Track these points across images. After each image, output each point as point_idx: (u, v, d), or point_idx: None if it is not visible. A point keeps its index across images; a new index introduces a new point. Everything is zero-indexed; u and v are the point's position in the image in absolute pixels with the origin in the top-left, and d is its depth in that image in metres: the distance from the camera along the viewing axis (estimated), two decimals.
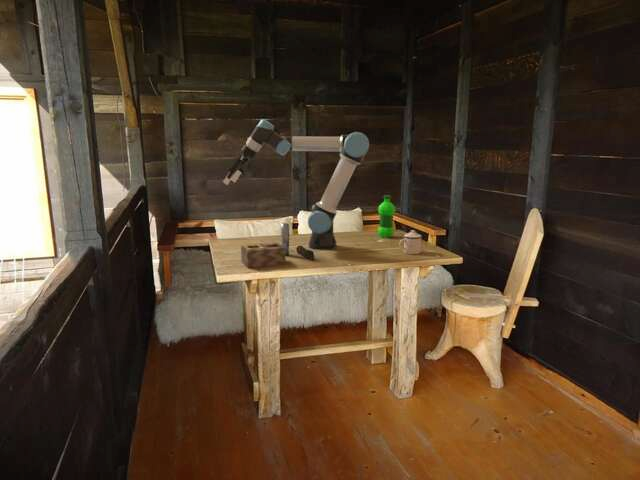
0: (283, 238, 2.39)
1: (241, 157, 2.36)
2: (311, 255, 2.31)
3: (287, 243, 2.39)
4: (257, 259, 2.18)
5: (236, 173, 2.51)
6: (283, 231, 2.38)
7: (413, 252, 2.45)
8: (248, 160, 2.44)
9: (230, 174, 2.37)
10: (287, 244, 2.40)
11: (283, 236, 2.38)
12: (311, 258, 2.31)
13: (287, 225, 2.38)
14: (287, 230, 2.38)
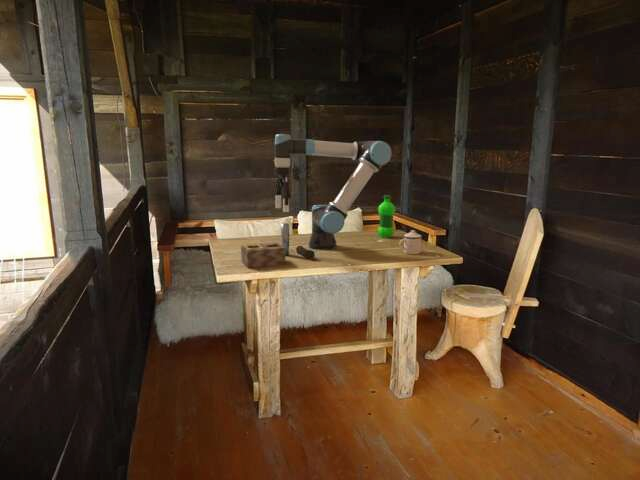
0: (283, 238, 2.39)
1: (285, 179, 2.28)
2: (312, 255, 2.31)
3: (287, 243, 2.39)
4: (257, 259, 2.18)
5: (277, 199, 2.43)
6: (283, 231, 2.38)
7: (413, 252, 2.45)
8: None
9: (287, 200, 2.29)
10: (287, 244, 2.40)
11: (283, 236, 2.38)
12: (312, 258, 2.31)
13: (287, 225, 2.38)
14: (287, 230, 2.38)
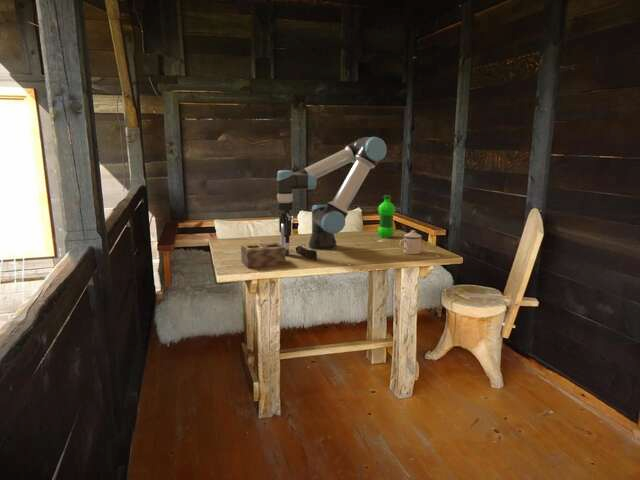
0: (283, 238, 2.39)
1: (288, 218, 2.32)
2: (314, 255, 2.31)
3: None
4: (257, 259, 2.18)
5: None
6: (283, 231, 2.38)
7: (413, 252, 2.45)
8: None
9: (287, 238, 2.37)
10: None
11: None
12: (314, 258, 2.32)
13: None
14: None
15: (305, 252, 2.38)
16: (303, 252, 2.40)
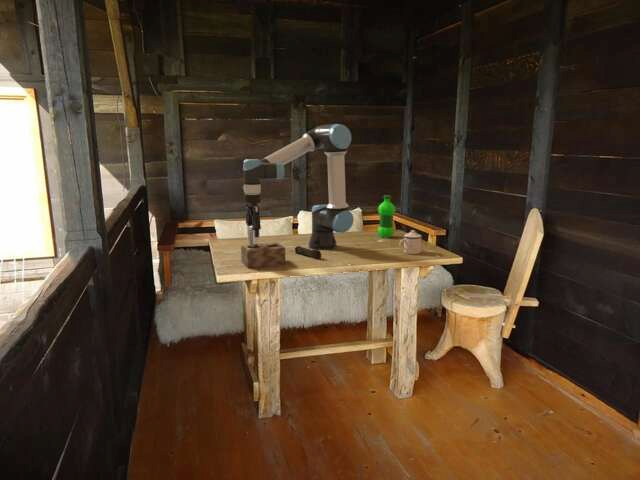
0: (251, 242, 2.20)
1: (255, 209, 2.12)
2: (319, 254, 2.33)
3: (255, 247, 2.21)
4: (257, 259, 2.18)
5: None
6: (251, 234, 2.19)
7: (413, 252, 2.45)
8: None
9: (257, 232, 2.14)
10: None
11: (251, 240, 2.19)
12: (319, 257, 2.33)
13: None
14: None
15: (307, 252, 2.38)
16: (304, 252, 2.40)
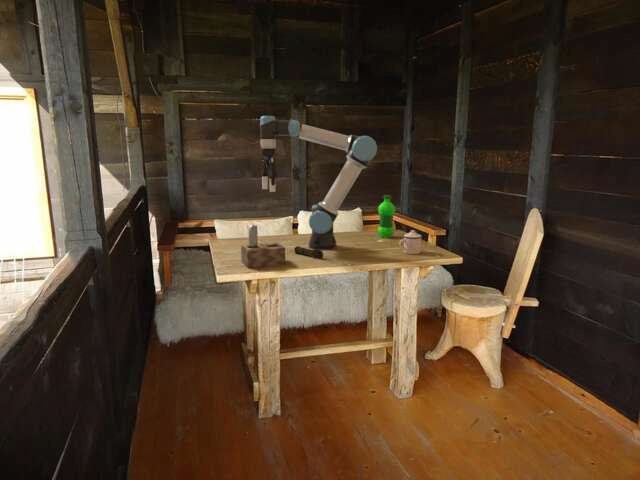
0: (251, 242, 2.20)
1: (271, 160, 2.34)
2: (321, 254, 2.34)
3: (255, 247, 2.21)
4: (257, 259, 2.18)
5: (264, 180, 2.48)
6: (251, 234, 2.19)
7: (413, 252, 2.45)
8: None
9: (273, 180, 2.35)
10: None
11: (251, 240, 2.20)
12: (321, 257, 2.34)
13: (255, 228, 2.19)
14: (255, 233, 2.20)
15: (308, 252, 2.39)
16: (305, 252, 2.40)
